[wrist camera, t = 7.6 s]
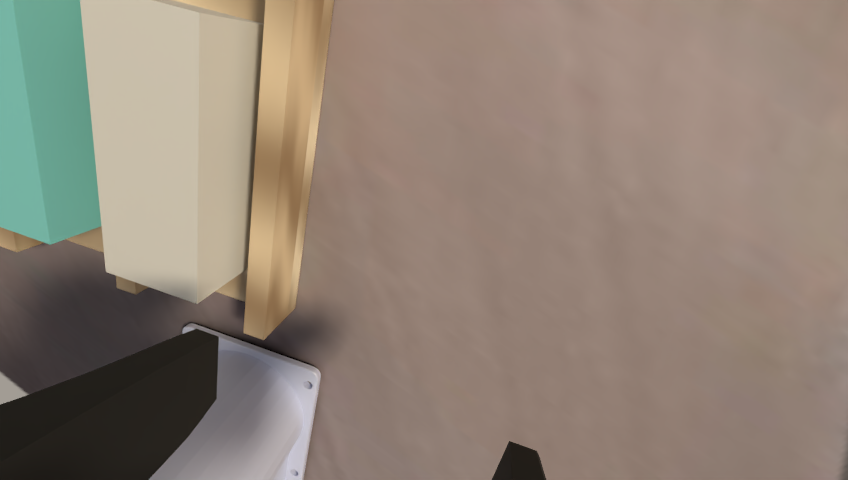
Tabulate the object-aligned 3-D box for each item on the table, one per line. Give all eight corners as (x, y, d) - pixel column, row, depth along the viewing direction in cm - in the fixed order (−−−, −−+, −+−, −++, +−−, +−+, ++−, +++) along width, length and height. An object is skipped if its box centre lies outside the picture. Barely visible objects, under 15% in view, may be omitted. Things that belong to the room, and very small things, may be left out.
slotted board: (295, 308, 21) (263, 340, 18) (58, 226, 23) (-1, 246, 20) (338, -36, 15) (300, -58, 12) (9, -115, 16) (-84, -149, 14)
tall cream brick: (257, 261, 19) (197, 304, 16) (182, 235, 20) (105, 271, 16) (276, 27, 15) (199, 12, 12) (180, 1, 16) (77, -20, 12)
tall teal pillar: (136, 213, 20) (50, 244, 16) (64, 190, 20) (-34, 214, 17) (122, -25, 16) (4, -53, 12) (34, -48, 16) (-105, -82, 13)
